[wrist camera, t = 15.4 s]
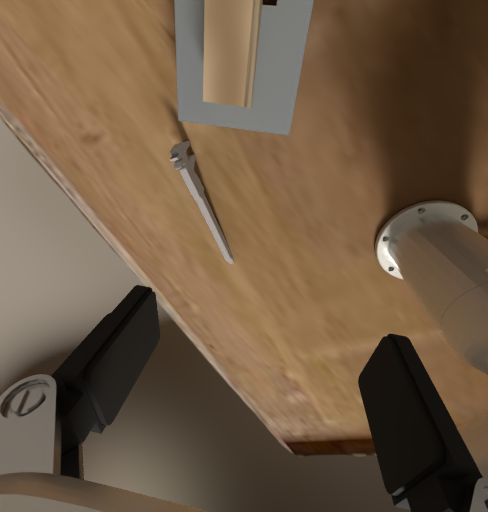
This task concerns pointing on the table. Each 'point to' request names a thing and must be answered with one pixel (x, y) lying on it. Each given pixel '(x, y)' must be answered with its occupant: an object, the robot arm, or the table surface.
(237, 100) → the oak batten
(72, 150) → the table surface
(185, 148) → the caliper
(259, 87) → the notched block
